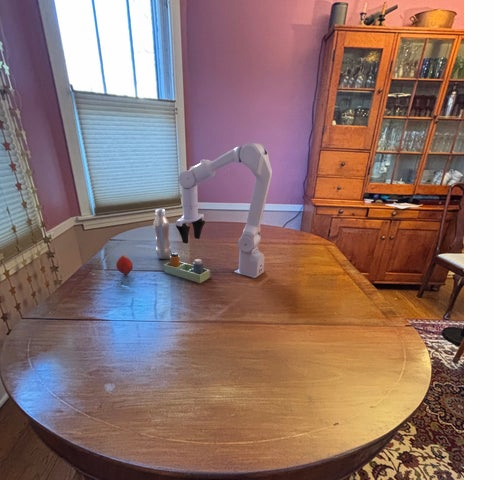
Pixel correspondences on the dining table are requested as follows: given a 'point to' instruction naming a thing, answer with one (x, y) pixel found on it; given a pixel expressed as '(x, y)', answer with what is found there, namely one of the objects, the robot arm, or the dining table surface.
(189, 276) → the bottle holder
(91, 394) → the dining table surface
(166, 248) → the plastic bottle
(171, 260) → the amber spice bottle
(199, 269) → the slate spice bottle
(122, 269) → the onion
